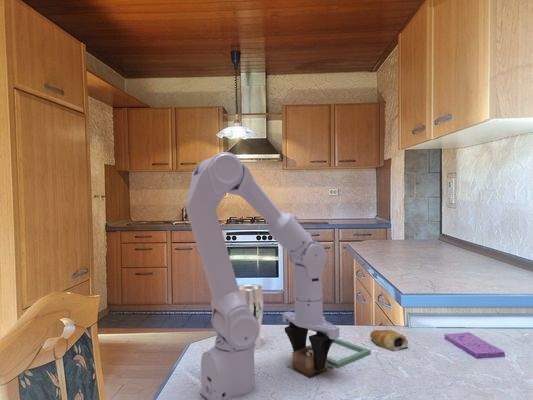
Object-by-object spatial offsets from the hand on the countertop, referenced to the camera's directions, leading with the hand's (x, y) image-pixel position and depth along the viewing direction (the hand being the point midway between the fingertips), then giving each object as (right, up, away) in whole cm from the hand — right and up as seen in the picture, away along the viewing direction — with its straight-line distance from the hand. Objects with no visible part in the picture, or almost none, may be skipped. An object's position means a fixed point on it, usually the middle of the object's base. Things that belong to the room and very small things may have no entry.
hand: (309, 364), depth 75 cm
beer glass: (-13, -3, +13) cm, 19 cm away
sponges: (+40, -2, +12) cm, 42 cm away
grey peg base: (0, -2, 0) cm, 2 cm away
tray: (+7, -2, +7) cm, 10 cm away
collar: (0, -1, 0) cm, 0 cm away
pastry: (+21, -2, +15) cm, 26 cm away
